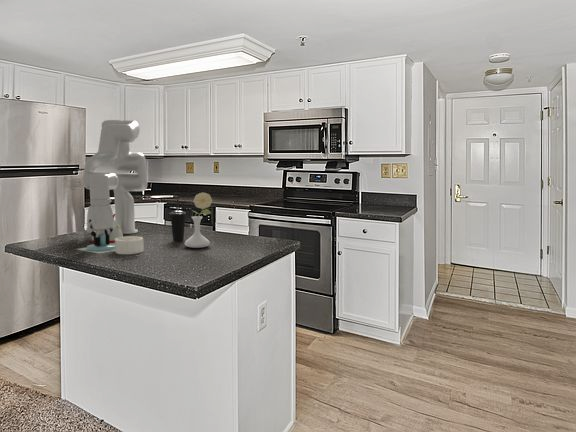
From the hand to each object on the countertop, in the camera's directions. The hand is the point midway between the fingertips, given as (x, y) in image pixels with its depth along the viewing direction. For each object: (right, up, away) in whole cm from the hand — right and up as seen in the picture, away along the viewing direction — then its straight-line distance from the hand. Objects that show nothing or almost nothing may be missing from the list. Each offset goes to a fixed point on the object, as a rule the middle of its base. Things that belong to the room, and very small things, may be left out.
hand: (101, 244), depth 183 cm
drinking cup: (+27, 0, +24) cm, 36 cm away
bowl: (+14, -3, -4) cm, 14 cm away
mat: (0, -2, 0) cm, 2 cm away
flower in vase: (+40, -2, +9) cm, 41 cm away
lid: (0, -2, 0) cm, 2 cm away
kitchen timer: (-5, 0, +19) cm, 19 cm away
